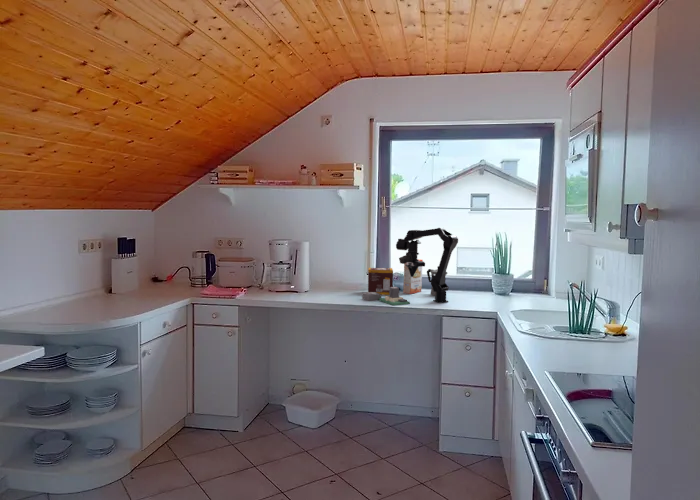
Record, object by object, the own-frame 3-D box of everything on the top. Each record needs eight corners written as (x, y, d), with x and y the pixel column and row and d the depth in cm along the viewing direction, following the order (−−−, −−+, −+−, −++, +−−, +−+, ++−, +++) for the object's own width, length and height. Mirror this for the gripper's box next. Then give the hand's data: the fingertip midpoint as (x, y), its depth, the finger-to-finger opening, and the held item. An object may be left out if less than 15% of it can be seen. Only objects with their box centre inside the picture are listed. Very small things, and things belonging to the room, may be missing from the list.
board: (409, 304, 284) (409, 298, 283) (393, 305, 279) (393, 299, 279) (394, 299, 298) (394, 293, 298) (378, 300, 293) (378, 294, 293)
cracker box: (411, 294, 314) (411, 261, 312) (402, 293, 318) (403, 260, 316) (422, 291, 325) (423, 259, 323) (413, 290, 329) (414, 258, 327)
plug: (398, 300, 287) (399, 287, 287) (391, 301, 285) (392, 288, 285) (395, 299, 291) (395, 286, 290) (388, 299, 289) (388, 287, 288)
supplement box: (367, 291, 322) (368, 267, 321) (392, 292, 321) (392, 267, 320) (367, 294, 312) (368, 269, 310) (392, 295, 311) (393, 270, 310)
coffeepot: (451, 295, 312) (452, 266, 310) (441, 297, 305) (442, 268, 303) (430, 292, 323) (431, 264, 321) (421, 294, 316) (422, 265, 315)
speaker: (380, 300, 294) (381, 293, 293) (368, 301, 290) (368, 294, 290) (374, 297, 301) (374, 291, 301) (362, 298, 297) (362, 292, 297)
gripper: (392, 249, 306) (392, 275, 308) (410, 252, 290) (409, 279, 291) (408, 249, 311) (407, 274, 313) (426, 252, 295) (425, 278, 296)
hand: (411, 276), depth 303 cm, fingers closed
